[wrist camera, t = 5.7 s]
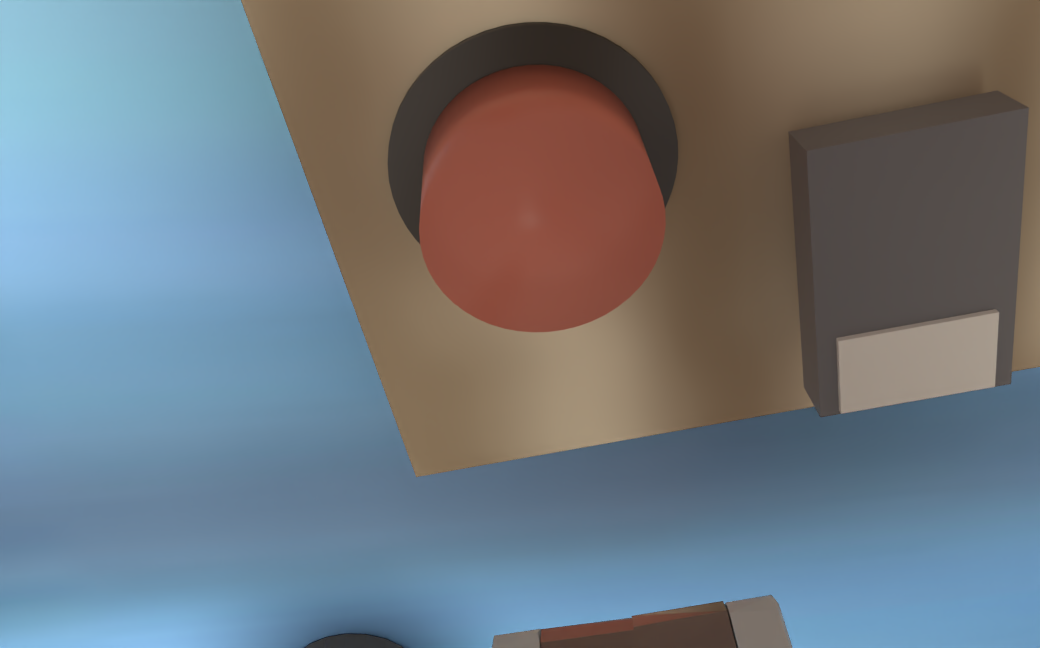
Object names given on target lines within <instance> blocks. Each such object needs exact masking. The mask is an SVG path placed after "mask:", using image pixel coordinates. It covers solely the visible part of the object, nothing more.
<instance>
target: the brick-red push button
mask: <svg viewBox="0 0 1040 648" xmlns="http://www.w3.org/2000/svg"><path fill="white" fill-rule="evenodd" d="M665 226H666V217H665V206H664V201H663V196H662V193H661V190H660V187H659V185H658V182H657V179H656V176H655V174H654V171H653V168H652V166H651V163H650V160H649V157H648V155H647V152H646V149H645V147H644V144H643V141H642V138H641V136H640V133H639V130H638V128H637V125H636V123H635V121H634V119H633V117H632V115H631V113H630V112H629V111H628V109H627V108H626V106H625V105H624V104H623V102H622V101H621V100H620V99H619V98H618V97H617V96H616V95H615V94H614V93H613V92H612V91H611V90H609V89H608V88H607V87H605V86H604V85H603V84H601V83H600V82H598V81H596V80H595V79H593V78H591V77H589V76H587V75H585V74H582V73H580V72H577V71H575V70H571V69H567V68H563V67H559V66H551V65H524V66H517V67H511V68H507V69H504V70H500V71H497V72H495V73H492V74H490V75H487V76H485V77H483V78H481V79H479V80H478V81H476V82H474V83H472V84H471V85H469V86H468V87H467V88H465V89H464V90H463V91H461V92H460V93H459V94H458V95H457V96H456V97H455V98H454V99H453V100H452V101H451V102H450V103H449V104H448V105H447V106H446V107H445V109H444V110H443V111H442V113H441V114H440V115H439V117H438V119H437V120H436V122H435V124H434V126H433V128H432V130H431V132H430V135H429V138H428V140H427V144H426V148H425V152H424V162H423V175H422V191H421V207H420V223H419V235H420V246H421V250H422V255H423V258H424V261H425V263H426V266H427V269H428V271H429V273H430V274H431V276H432V278H433V280H434V281H435V283H436V284H437V285H438V287H439V288H440V289H441V291H442V292H443V293H444V294H445V295H446V296H447V297H448V298H449V299H450V300H451V301H452V302H453V303H454V304H455V305H457V306H458V307H459V308H461V309H462V310H463V311H465V312H466V313H468V314H470V315H472V316H473V317H475V318H477V319H479V320H481V321H484V322H486V323H488V324H491V325H494V326H497V327H501V328H504V329H509V330H514V331H522V332H552V331H559V330H565V329H569V328H573V327H577V326H580V325H583V324H586V323H589V322H592V321H594V320H596V319H598V318H600V317H602V316H604V315H606V314H607V313H609V312H611V311H612V310H614V309H615V308H617V307H618V306H620V305H621V304H622V303H623V302H625V301H626V300H627V299H628V298H630V297H631V296H632V295H633V294H634V293H635V292H636V291H637V290H638V289H639V287H640V286H641V285H642V284H643V282H644V281H645V280H646V278H647V277H648V276H649V274H650V272H651V271H652V269H653V267H654V265H655V264H656V261H657V259H658V256H659V254H660V252H661V248H662V244H663V240H664V235H665Z"/></svg>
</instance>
